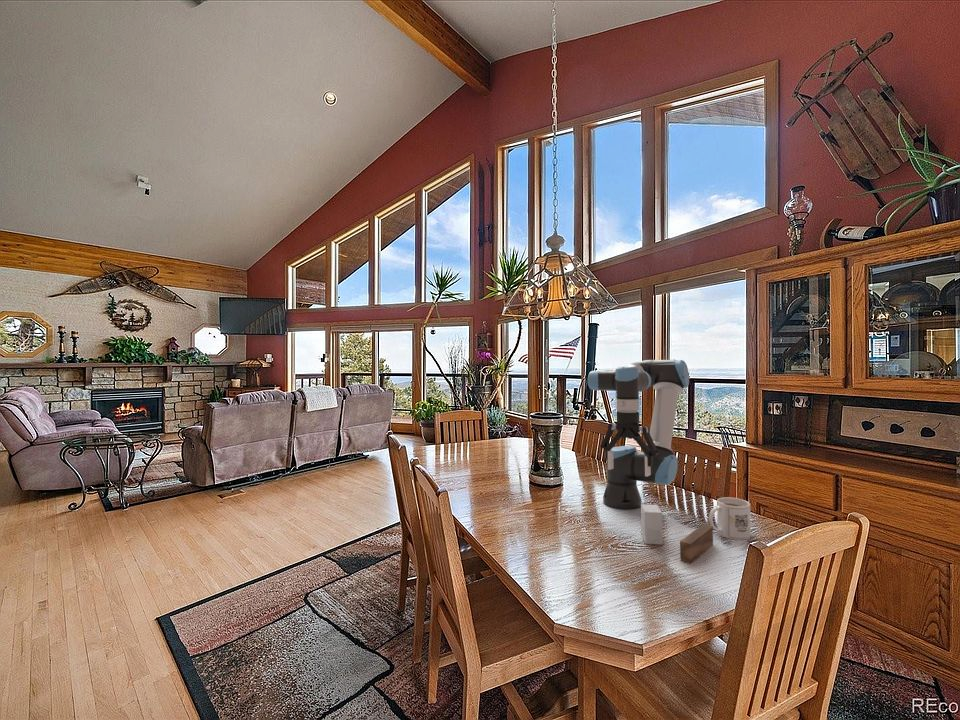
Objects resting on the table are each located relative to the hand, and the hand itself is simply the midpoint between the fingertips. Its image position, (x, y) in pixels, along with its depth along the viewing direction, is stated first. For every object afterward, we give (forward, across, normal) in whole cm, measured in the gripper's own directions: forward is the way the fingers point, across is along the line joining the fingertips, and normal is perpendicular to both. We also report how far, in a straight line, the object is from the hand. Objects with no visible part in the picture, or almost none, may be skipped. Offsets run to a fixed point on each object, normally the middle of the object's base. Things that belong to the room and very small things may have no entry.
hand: (628, 472), depth 156 cm
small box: (+21, +8, -1) cm, 23 cm away
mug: (+21, +26, +21) cm, 39 cm away
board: (+21, +23, -1) cm, 31 cm away
